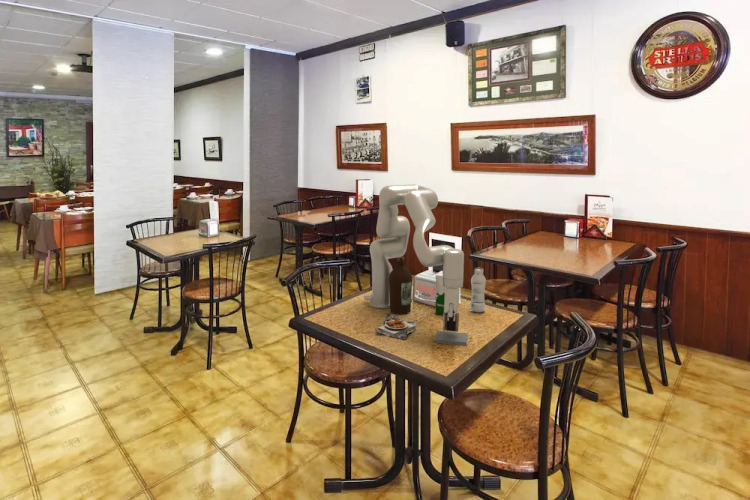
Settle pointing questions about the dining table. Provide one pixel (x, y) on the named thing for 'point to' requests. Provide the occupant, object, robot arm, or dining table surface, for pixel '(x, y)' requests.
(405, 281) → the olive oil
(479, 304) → the plastic bottle
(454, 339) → the slate board
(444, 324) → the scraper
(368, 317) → the dining table surface
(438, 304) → the milk carton
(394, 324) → the meal
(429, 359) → the dining table surface
